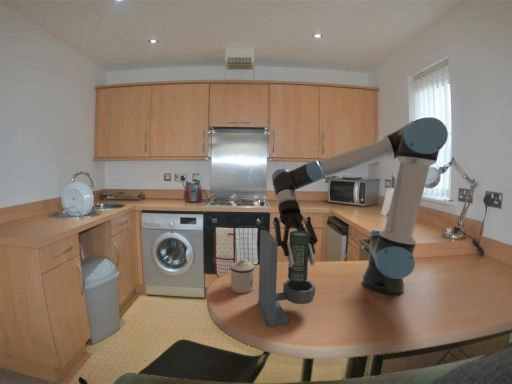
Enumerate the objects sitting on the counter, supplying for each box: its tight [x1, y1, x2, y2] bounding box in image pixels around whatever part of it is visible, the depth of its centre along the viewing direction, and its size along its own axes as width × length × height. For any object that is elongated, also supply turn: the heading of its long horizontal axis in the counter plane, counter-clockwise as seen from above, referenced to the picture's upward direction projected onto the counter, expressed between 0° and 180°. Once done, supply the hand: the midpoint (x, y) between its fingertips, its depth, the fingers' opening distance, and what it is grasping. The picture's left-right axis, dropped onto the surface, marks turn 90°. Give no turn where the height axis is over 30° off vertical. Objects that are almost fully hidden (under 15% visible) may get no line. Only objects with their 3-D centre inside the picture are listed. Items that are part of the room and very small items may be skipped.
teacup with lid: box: [230, 258, 255, 294], centre depth 104 cm, size 12×9×12 cm
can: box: [287, 230, 309, 282], centre depth 86 cm, size 6×6×15 cm
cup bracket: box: [257, 229, 316, 328], centre depth 86 cm, size 17×14×26 cm
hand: (302, 264), depth 83 cm, fingers closed on can, 6 cm apart
